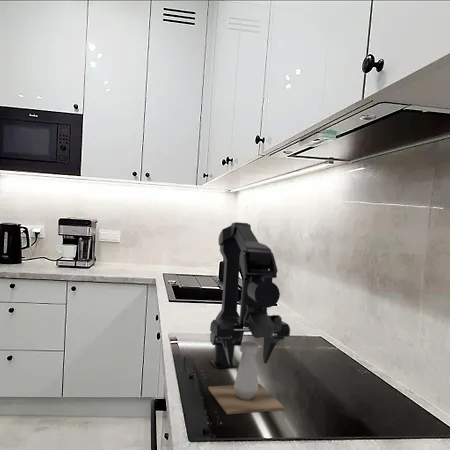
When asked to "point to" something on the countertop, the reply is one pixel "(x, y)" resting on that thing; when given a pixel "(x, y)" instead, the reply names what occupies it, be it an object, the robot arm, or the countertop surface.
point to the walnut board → (236, 405)
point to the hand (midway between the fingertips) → (247, 363)
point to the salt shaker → (247, 372)
